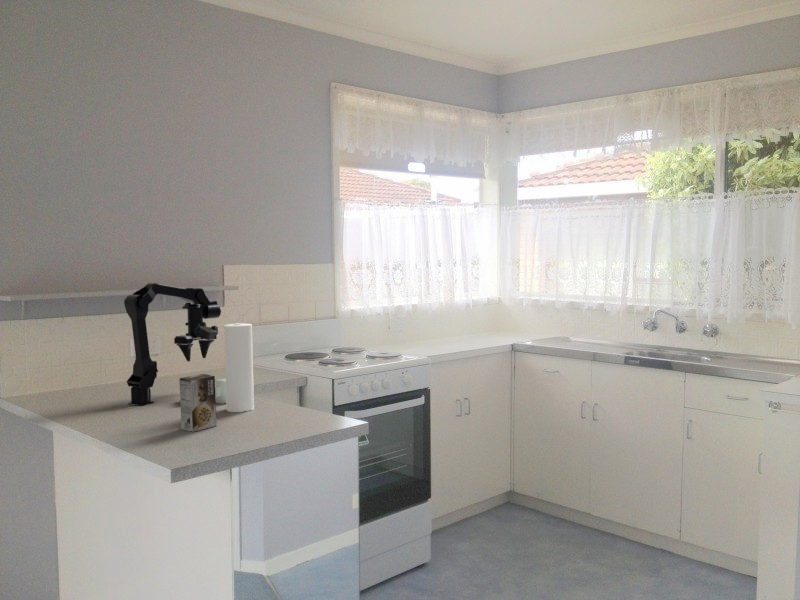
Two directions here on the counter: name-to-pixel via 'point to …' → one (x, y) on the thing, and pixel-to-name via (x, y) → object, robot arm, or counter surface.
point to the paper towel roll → (239, 367)
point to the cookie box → (198, 402)
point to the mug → (220, 391)
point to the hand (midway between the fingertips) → (196, 359)
